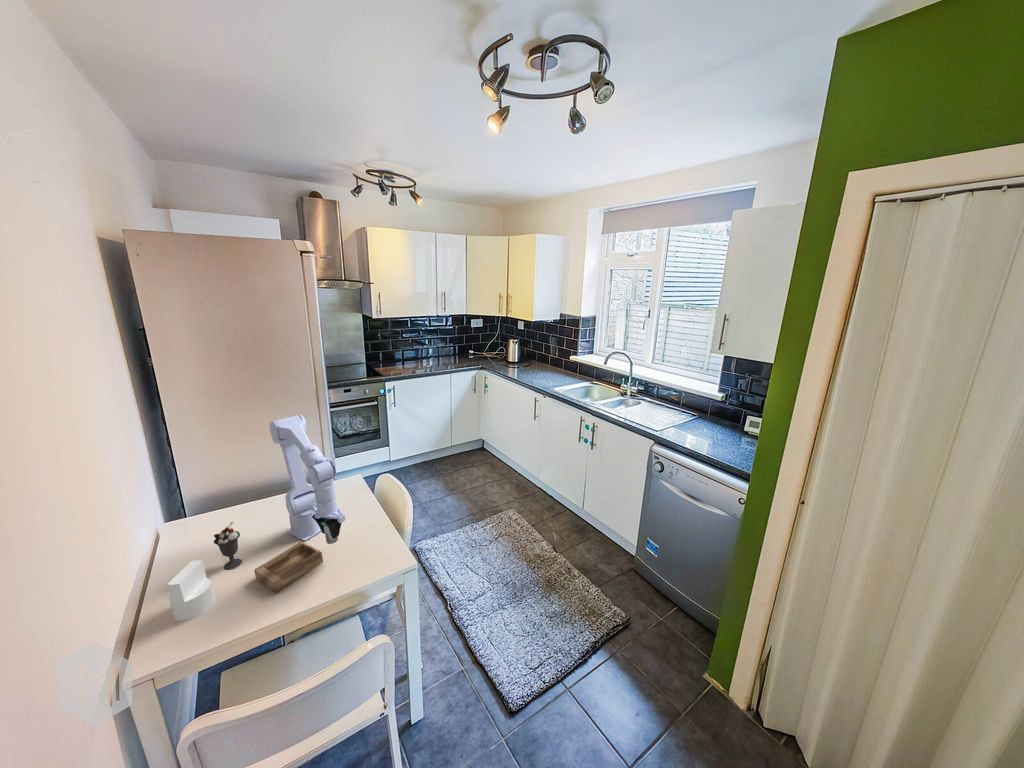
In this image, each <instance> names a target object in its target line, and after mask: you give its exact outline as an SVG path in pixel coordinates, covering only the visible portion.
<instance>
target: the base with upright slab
mask: <svg viewBox="0 0 1024 768" xmlns="http://www.w3.org/2000/svg"><path fill="white" fill-rule="evenodd" d="M167 588H168V592H169V595H168V600H169V604H170V605H169V606H170V609H171V612H172V614H173V618H174V619H175V621H179V622H186V621H190V620H193V619H195V618H197V617H200V616H202V615H203V614H204V613H206V612H207V611H209V610H210V609H211V608H212V607H213V606H214V604H215V601H216V600H215V599H216V598H215V594H214V590H213V585H212V582H211V579H209V578H208V577H207V574H206V570H205V566H204V562H203V560H201V559H199V560H198V559H196V560H195V559H194V560H191V561H190V562H188V563H187V564H186V565H185V566H184V568H182V569H181V570H180V571H179V572H178V573H177V574H176V575H174V577H173V578H172V579H171V580H170V581H169V582H168V583H167Z"/></svg>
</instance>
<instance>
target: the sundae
mask: <svg viewBox="0 0 1024 768" xmlns="http://www.w3.org/2000/svg"><path fill="white" fill-rule="evenodd" d="M233 523H234V522H233V521H231V522H230V523H229V525H228V526H226V527H225V528H224V529H223V530H221V531H220V532H219V533H216V534H213V537H214V538H215V539H214V540H213V544H214V545H217V546H218V548H219V551H220V553H221V554H222V556H223V557H226V558H227V557H228V558H229V561H227V562H226V563H225V564H224V565H223V570H227V571H230V570H233V569H237V568H238V567H240V566H241V565H242V563H243V559H241V558H235V557H234V556H235V554H236V553H237V552H238V550H239V549H238V548H239V544H238V543H239V542H238V540H239V539H238V538H240V536H241V534H240V531H238V530H235V529H234V528H232V524H233Z"/></svg>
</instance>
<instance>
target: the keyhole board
mask: <svg viewBox="0 0 1024 768" xmlns="http://www.w3.org/2000/svg"><path fill="white" fill-rule="evenodd" d="M322 563H324V557H323V552H322V551H320V550H319V549H317V548H315V547H313V546H311V545H310V544H308V543H305V541H304V542H303V540H301V541H299V542H297V543H296V544H294V545H292V546H291V547H289V548H288V549H285V550H284V551H282V552H281V553H279V554H277V555H276V556H274V557H273V558H271V559H269V560H268V561H266V562H264V563H263V564H261V565H258V567H256V568H255V569H253V571H254V575H255V579H256V581H257V582H259V583H260V584H261V585H263V586H264V587H266V588H268V589H269V590H271V591H272V592H274V594H279V593H281V592H282V591H284V590H285V589H286V588H288V587H289V586H291V585H292V584H293V583H295V582H296V581H298V580H299V579H301V578H302V577H304V576H305V575H306V574H309V572H311V571H312V570H314V569H315V568H317V567H318V566H319V565H321V564H322Z"/></svg>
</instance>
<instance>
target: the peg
mask: <svg viewBox="0 0 1024 768" xmlns="http://www.w3.org/2000/svg"><path fill="white" fill-rule="evenodd" d="M330 519H331V518H324V519H323V520H322V521H321V525H322V526H324V532H325V533H324V535H325V536H324V537H325V542H326V544H328V545H333V544H335V543H336V542H338V540H339V536H337V537H336V538H334V539H333V538H332V537H331V533H330V530H329V528H328V526H327V525H326V524H325V522H326V521H328V520H330Z"/></svg>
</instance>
